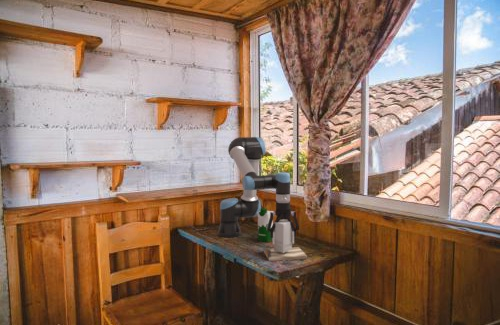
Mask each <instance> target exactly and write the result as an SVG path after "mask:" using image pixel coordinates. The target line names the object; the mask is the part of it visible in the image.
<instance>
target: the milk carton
mask: <svg viewBox="0 0 500 325" xmlns="http://www.w3.org/2000/svg"><path fill="white" fill-rule="evenodd" d="M270 212H275V211H274V210H268V209H267V208H266V207H264V208H263V207H261V209H260V211H259V212H257V216H256V217H257V242H261V243H262V242H263V243H266V244H267V243H269V242H272V238H271V237H270V231H268V230H267V226H268V223H269V219H270ZM273 224H274V220H273V221H272V224H271V227H272V225H273ZM270 229H271V228H270Z"/></svg>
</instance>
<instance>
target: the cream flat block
mask: <svg viewBox="0 0 500 325" xmlns="http://www.w3.org/2000/svg"><path fill="white" fill-rule="evenodd" d="M263 253H264V255H265V256H266V258H267V260H268V261H269V262H273V261H289V260H291V261H293V260H307V259H308V256H307V254H306V252H304V251H303V249H301V247H299V246H294V247H293V246H292V249H291V250H289V251H287V252H284V253H282V252H278V251H274V247H273V248H269V245H268V244H267V242H263Z"/></svg>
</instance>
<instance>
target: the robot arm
mask: <svg viewBox="0 0 500 325" xmlns="http://www.w3.org/2000/svg"><path fill="white" fill-rule="evenodd" d="M227 149H228V155H229V157H230V158H231V159H232V160H234V163H235V165H236V166H237V168H238V171H239V172H240V175H241V176H242V181H241V185H242V188H243V194H242V195H241V196H240V199H238V198H235V197H234V198H233V197H232V198H226V199H223V200H221V201H220V207H219V209H220V212H219V214H220V216H219V217H220V221H219V222H220V224H219V227H218V230H217V235H218V236H219V237H222V238H235V237H239V236H241V235H242V230H241V228H240V223H239V219H244V218H253V217H254V218H255V217H258V216H257V212H259V211H260V209H261V208H262V205H261V204H262V202H261V200H260V199H259V197H258V196H257V192H258V190H272V189H273V190H275V201H276V203H275V211H274V212H270V219H269V223H268V226H267V230H268V231H270V237H271V238H272V241H271V242H272V245H275V232H274V229H275V224H274V223H273V225H272V227H271V224H272V221H273V222H279V221H280V220H288V221H289V222H290V225H291V227H292V245H294V244H295V238H296V237H297V231H300V226H299V222H298V219H297V212H296V211H295V210H294V211H291V202H290V201H291V174H290V173H289V172H280V171H279V172H276V174H274V173H273V174H271V173H270V174H267V175H264V174H263V175H262V174H261V175H259V166H260V165H259V164H260V161H261V160H262V156H265V154H266V152H267V151H266V149H267V148H266V144H265V140H264V139H263V138H262V137H257V136H247V137H245V136H244V137H242V136H240V137H236V138H234V139H233V140H231V141H230V143H229V146H228V148H227ZM275 215H276V218H275V219H274V217H275ZM290 216H292V218H293V221H292V220H291V218H290ZM291 221H292V222H291ZM293 223H294V224H293ZM270 228H271V229H270Z"/></svg>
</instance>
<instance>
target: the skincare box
mask: <svg viewBox="0 0 500 325" xmlns="http://www.w3.org/2000/svg"><path fill="white" fill-rule="evenodd" d="M291 222H292V223H293V220H291ZM273 224H275V229H274V232H275V245H274V246H273V248H274V251H278V252H282V253H284V252H287V251H289V250H291V249H292V247H293V243H292V230H293V229H292V227H291V225H290V222H289V221H288V220H287V219H286V220H285V219H283V220H279V222H275V221H273Z"/></svg>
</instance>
